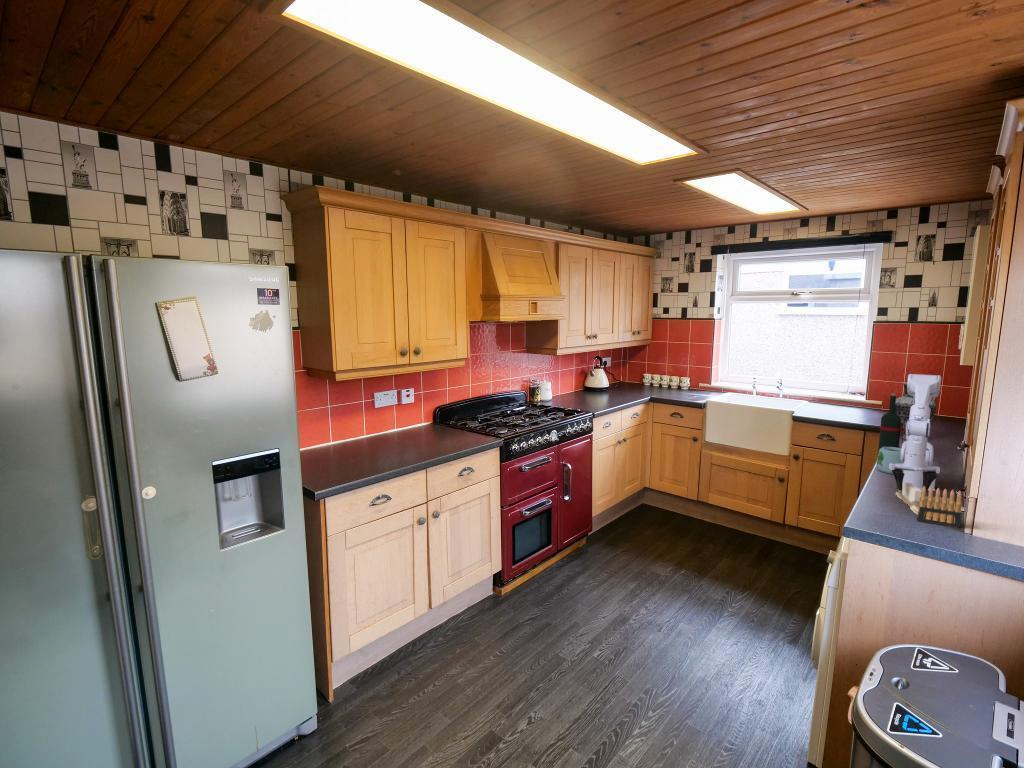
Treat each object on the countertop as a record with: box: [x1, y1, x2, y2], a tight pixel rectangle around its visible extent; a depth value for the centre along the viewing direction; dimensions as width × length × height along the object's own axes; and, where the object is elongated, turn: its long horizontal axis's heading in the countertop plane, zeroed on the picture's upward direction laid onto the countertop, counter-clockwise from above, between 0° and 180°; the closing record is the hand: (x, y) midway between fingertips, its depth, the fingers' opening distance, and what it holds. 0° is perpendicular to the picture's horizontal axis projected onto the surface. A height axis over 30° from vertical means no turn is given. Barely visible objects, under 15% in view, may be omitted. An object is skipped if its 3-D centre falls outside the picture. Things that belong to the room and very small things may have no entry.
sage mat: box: [926, 495, 964, 511], centre depth 181 cm, size 10×13×1 cm
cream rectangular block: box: [902, 482, 922, 502], centre depth 183 cm, size 2×10×6 cm, turn 163°
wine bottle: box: [877, 392, 904, 455], centre depth 240 cm, size 8×10×30 cm
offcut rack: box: [895, 489, 933, 516], centre depth 181 cm, size 6×20×3 cm, turn 163°
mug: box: [876, 447, 904, 475], centre depth 220 cm, size 15×11×10 cm
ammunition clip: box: [916, 486, 963, 528], centre depth 164 cm, size 11×2×12 cm, turn 58°
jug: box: [895, 382, 940, 440], centre depth 272 cm, size 21×19×30 cm
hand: (911, 490), depth 183 cm, fingers open, 7 cm apart
